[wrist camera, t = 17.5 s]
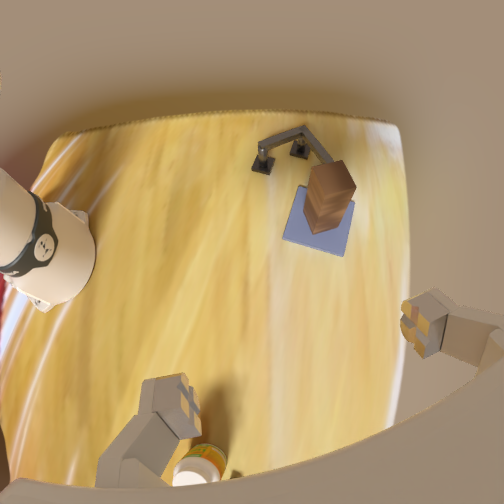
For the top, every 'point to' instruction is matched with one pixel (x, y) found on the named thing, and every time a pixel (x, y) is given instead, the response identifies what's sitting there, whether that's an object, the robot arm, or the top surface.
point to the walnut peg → (328, 196)
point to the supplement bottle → (200, 466)
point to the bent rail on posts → (298, 149)
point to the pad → (323, 241)
